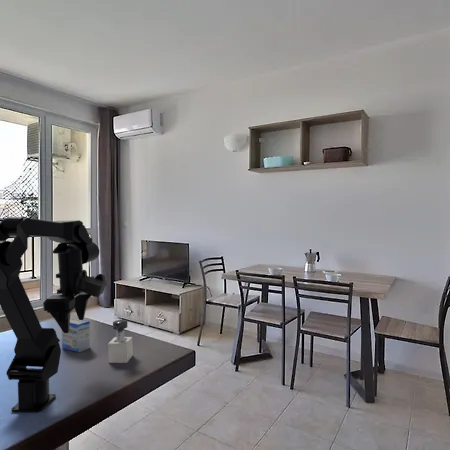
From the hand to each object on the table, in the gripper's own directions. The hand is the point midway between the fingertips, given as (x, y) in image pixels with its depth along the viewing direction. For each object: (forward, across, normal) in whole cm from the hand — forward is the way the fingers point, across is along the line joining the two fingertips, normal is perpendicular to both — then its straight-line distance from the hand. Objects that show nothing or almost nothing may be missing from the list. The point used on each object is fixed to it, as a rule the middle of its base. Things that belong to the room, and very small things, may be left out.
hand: (74, 326), depth 92 cm
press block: (+13, +7, -10) cm, 17 cm away
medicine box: (+13, +16, +7) cm, 21 cm away
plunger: (+12, +7, -10) cm, 17 cm away
